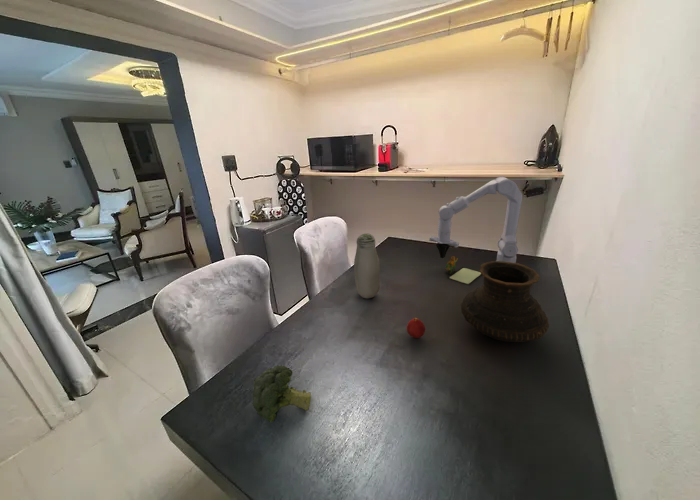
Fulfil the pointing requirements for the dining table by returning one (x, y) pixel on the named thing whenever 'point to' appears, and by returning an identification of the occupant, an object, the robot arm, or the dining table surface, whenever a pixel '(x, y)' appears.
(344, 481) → the dining table surface
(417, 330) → the onion
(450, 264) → the figurine
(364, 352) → the dining table surface
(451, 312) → the dining table surface
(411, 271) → the dining table surface
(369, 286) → the glass bottle
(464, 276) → the felt mat
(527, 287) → the ceramic pot
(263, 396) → the vegetable
